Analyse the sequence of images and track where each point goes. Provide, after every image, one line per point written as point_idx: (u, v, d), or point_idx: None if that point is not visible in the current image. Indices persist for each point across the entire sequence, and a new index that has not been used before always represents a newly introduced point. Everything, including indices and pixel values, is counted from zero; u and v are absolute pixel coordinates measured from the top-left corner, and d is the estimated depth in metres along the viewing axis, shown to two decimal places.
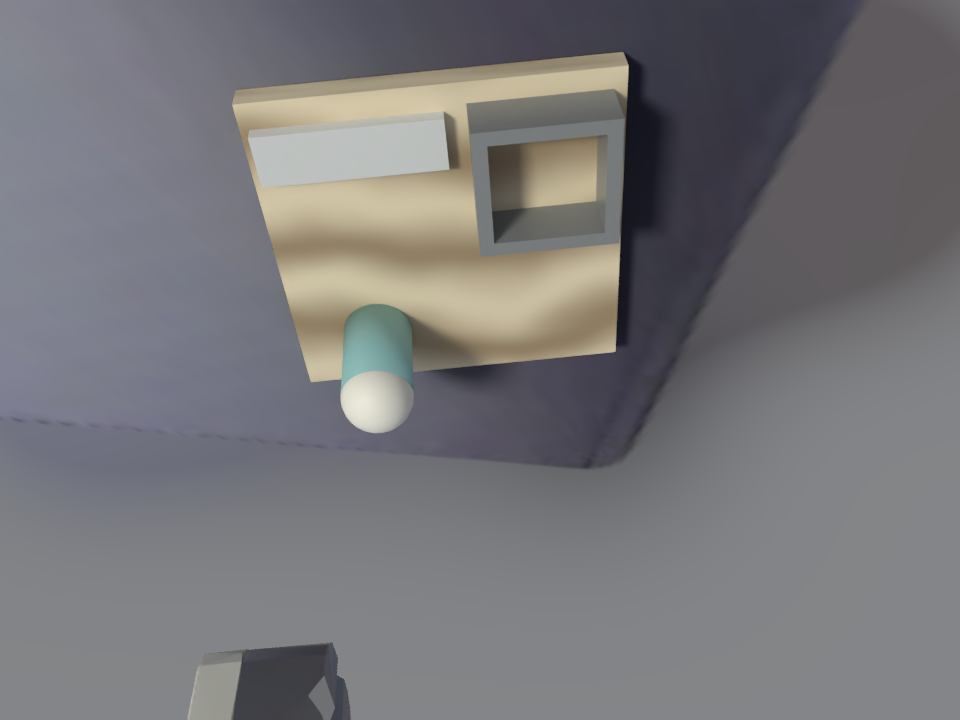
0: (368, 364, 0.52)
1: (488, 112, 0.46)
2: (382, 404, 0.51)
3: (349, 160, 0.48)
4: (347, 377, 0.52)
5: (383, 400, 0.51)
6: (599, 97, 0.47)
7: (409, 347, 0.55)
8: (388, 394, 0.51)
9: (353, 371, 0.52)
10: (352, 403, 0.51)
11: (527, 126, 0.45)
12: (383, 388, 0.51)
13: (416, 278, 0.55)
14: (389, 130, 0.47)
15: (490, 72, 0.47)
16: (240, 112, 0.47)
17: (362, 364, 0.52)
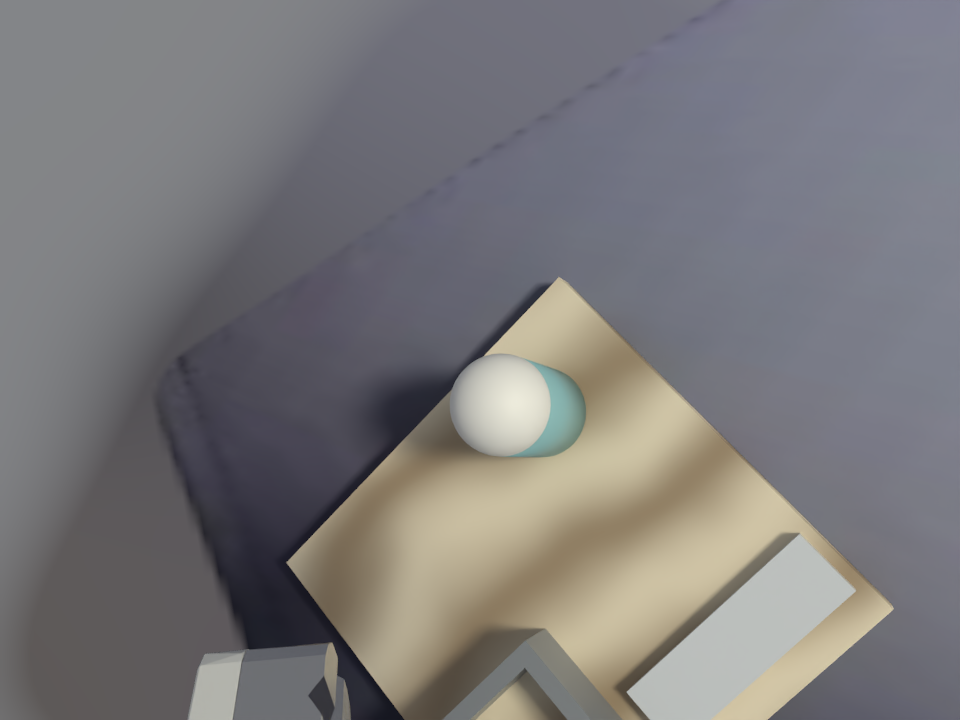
0: (542, 439, 0.37)
1: None
2: (497, 431, 0.36)
3: (734, 634, 0.38)
4: (552, 404, 0.37)
5: (499, 436, 0.36)
6: None
7: None
8: (498, 443, 0.36)
9: (551, 417, 0.37)
10: (528, 400, 0.36)
11: None
12: (509, 445, 0.36)
13: (553, 513, 0.42)
14: (719, 700, 0.38)
15: None
16: (878, 605, 0.37)
17: (548, 431, 0.37)
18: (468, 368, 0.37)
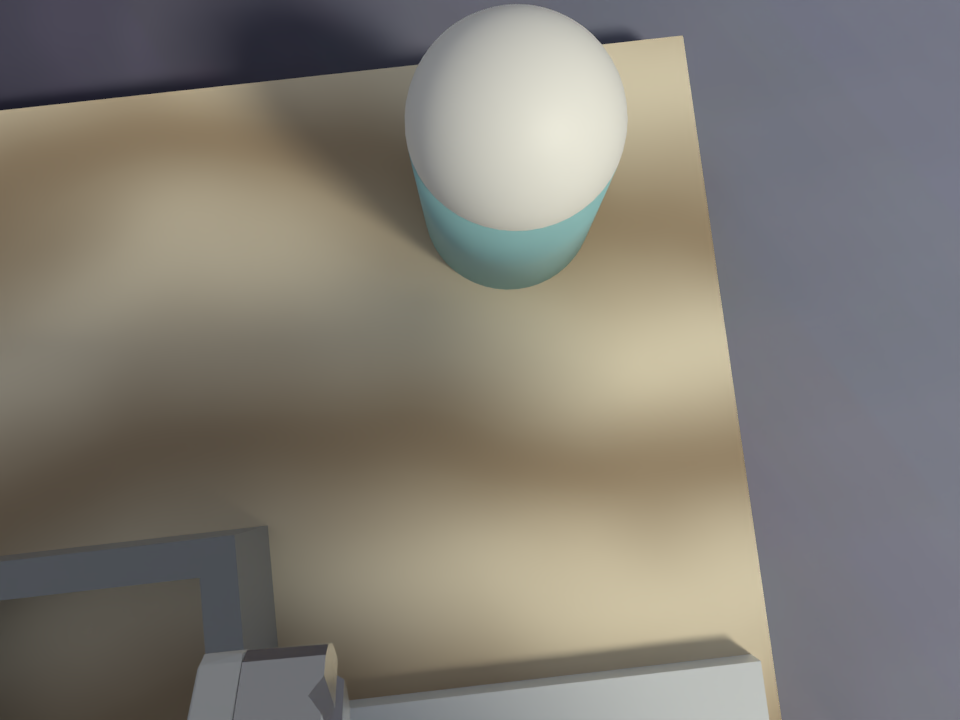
0: (536, 235, 0.18)
1: None
2: (499, 152, 0.16)
3: None
4: (601, 193, 0.18)
5: (495, 164, 0.16)
6: None
7: (424, 210, 0.21)
8: (479, 177, 0.16)
9: (582, 212, 0.18)
10: (594, 145, 0.16)
11: None
12: (493, 196, 0.16)
13: (411, 366, 0.23)
14: None
15: None
16: None
17: (554, 232, 0.18)
18: (522, 5, 0.16)
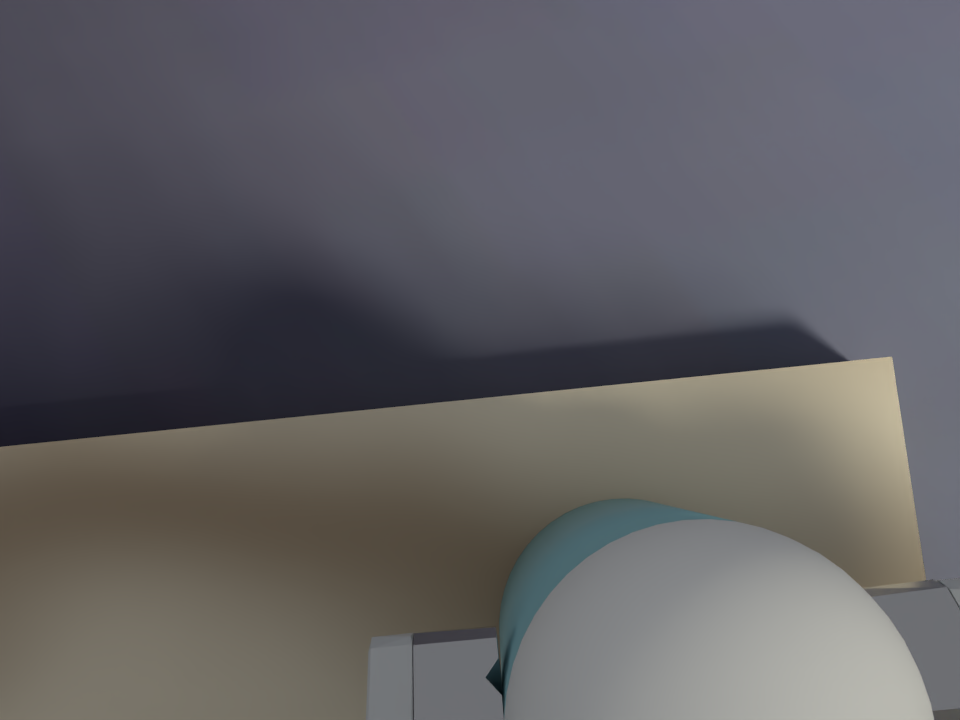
0: None
1: None
2: None
3: None
4: None
5: None
6: None
7: None
8: None
9: None
10: None
11: None
12: None
13: None
14: None
15: None
16: None
17: None
18: (747, 571, 0.08)
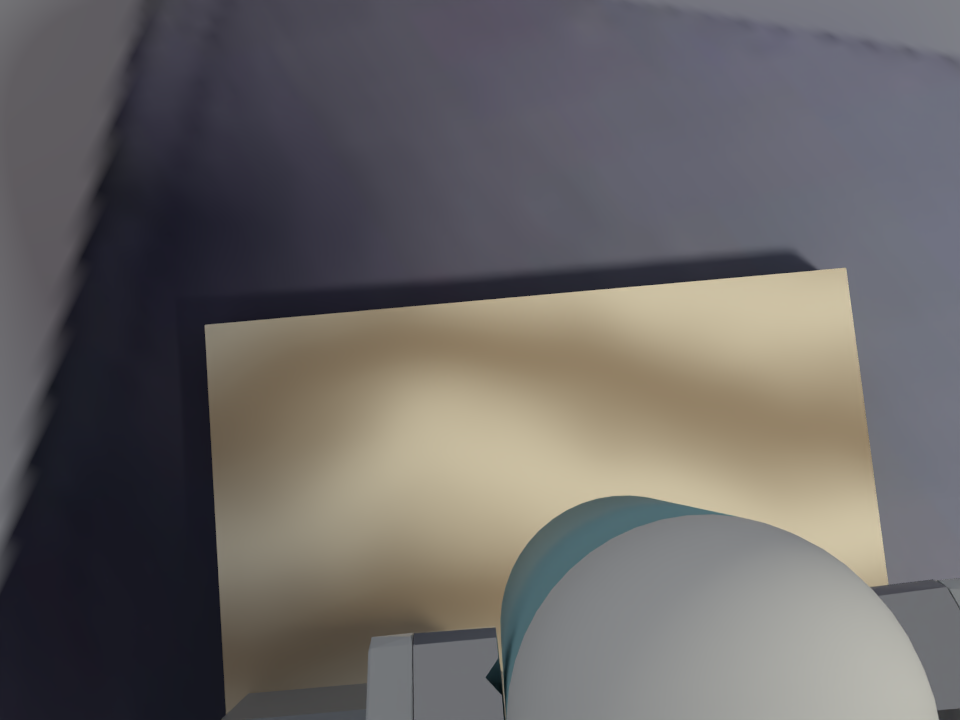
0: None
1: None
2: None
3: None
4: None
5: None
6: None
7: None
8: None
9: None
10: None
11: None
12: None
13: None
14: None
15: None
16: None
17: None
18: (751, 565, 0.08)
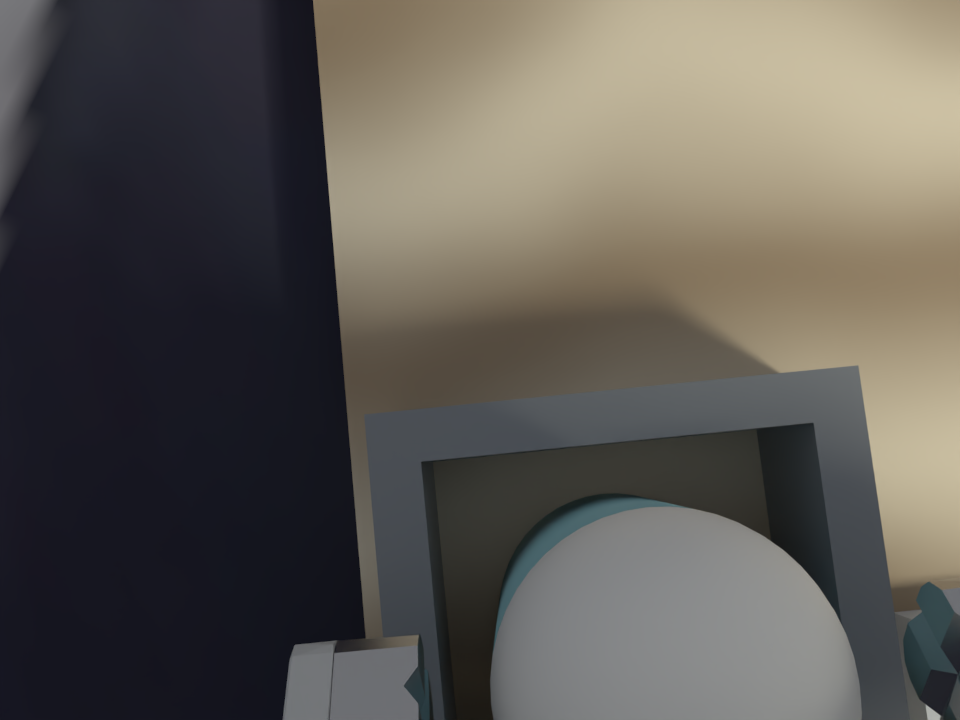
0: None
1: None
2: None
3: None
4: None
5: None
6: None
7: None
8: None
9: None
10: None
11: None
12: None
13: None
14: None
15: None
16: None
17: None
18: (693, 548, 0.10)
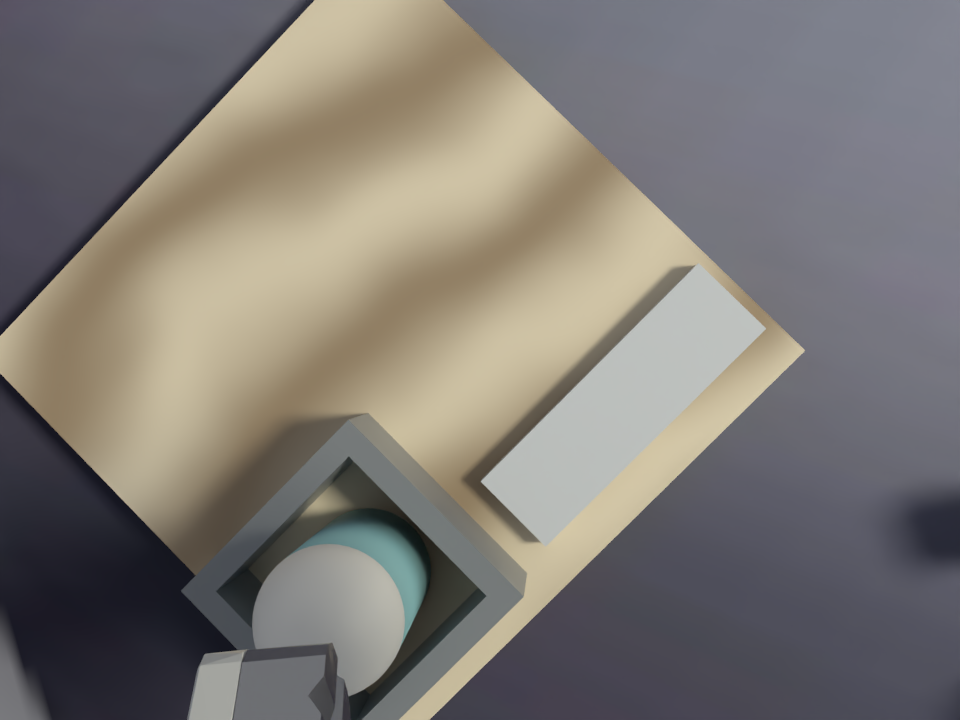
0: None
1: None
2: None
3: (617, 395, 0.30)
4: (406, 614, 0.26)
5: None
6: None
7: None
8: None
9: (404, 630, 0.26)
10: (378, 631, 0.24)
11: (459, 659, 0.28)
12: (349, 692, 0.24)
13: (375, 260, 0.31)
14: (599, 478, 0.30)
15: None
16: (788, 347, 0.30)
17: None
18: (281, 580, 0.24)
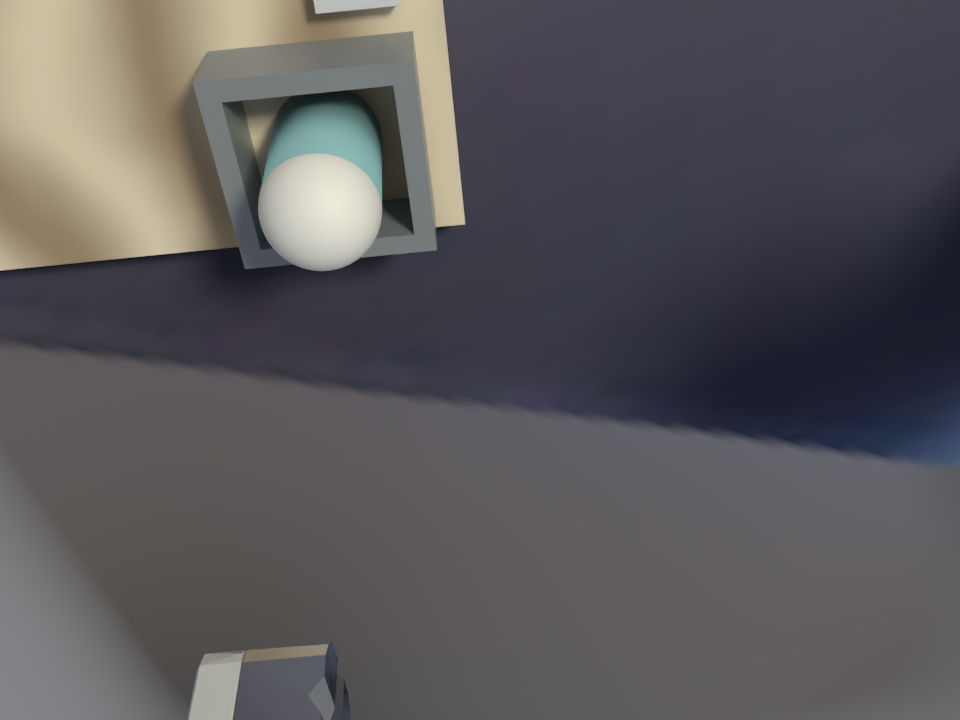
0: (379, 189, 0.32)
1: (416, 69, 0.34)
2: (355, 242, 0.31)
3: None
4: (353, 159, 0.31)
5: (360, 241, 0.31)
6: (433, 202, 0.37)
7: None
8: (365, 243, 0.31)
9: (364, 166, 0.31)
10: (342, 193, 0.30)
11: (423, 136, 0.33)
12: (372, 234, 0.31)
13: None
14: None
15: None
16: None
17: (375, 177, 0.32)
18: (266, 227, 0.31)
